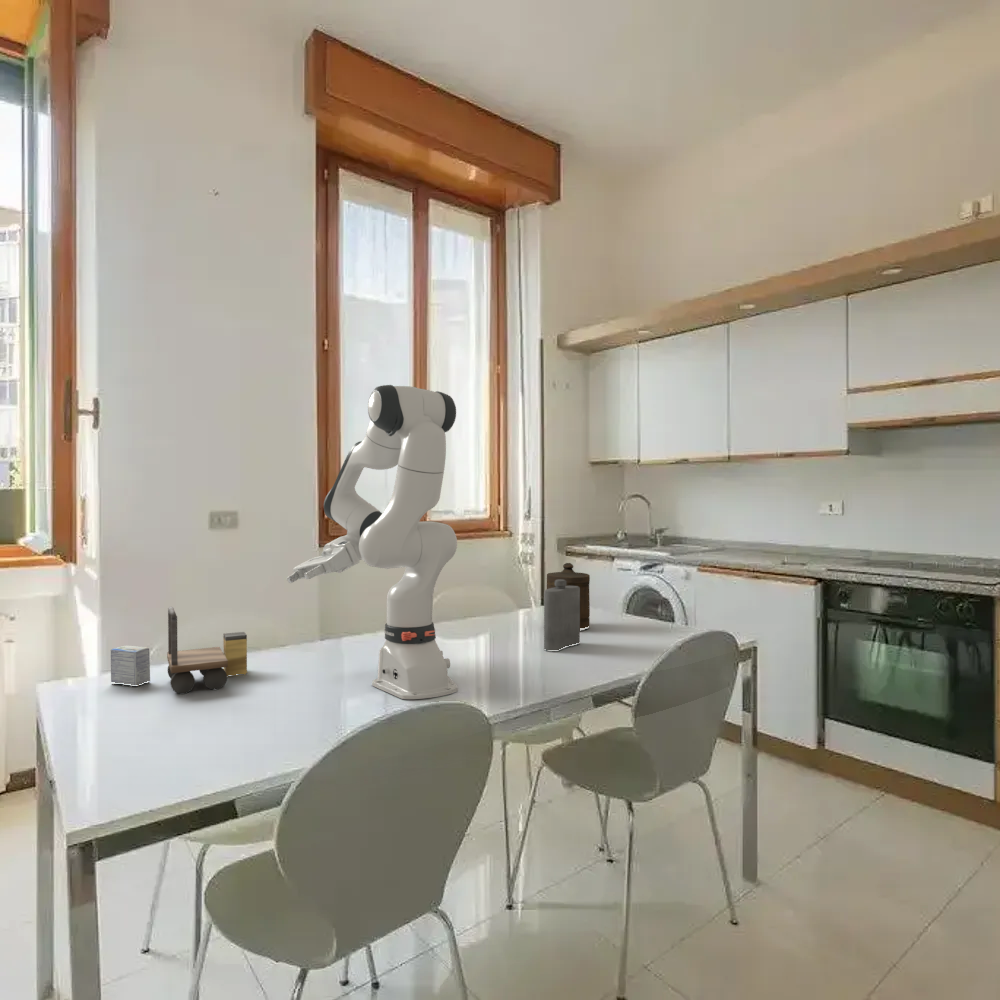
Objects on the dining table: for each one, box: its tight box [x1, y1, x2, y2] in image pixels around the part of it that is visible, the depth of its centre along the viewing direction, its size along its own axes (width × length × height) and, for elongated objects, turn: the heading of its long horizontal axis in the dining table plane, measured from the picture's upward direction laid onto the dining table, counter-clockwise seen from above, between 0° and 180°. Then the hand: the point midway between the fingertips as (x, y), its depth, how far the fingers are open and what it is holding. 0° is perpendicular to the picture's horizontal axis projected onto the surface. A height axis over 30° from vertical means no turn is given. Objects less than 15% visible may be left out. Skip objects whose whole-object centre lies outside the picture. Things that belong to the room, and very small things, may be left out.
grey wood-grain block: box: [110, 645, 151, 685], centre depth 167 cm, size 8×4×9 cm, turn 71°
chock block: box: [222, 631, 248, 677], centre depth 176 cm, size 4×5×10 cm
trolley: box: [166, 606, 228, 694], centre depth 166 cm, size 16×12×18 cm
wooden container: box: [546, 562, 591, 628], centre depth 235 cm, size 15×15×22 cm
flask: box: [543, 579, 581, 650], centre depth 206 cm, size 15×6×20 cm, turn 141°
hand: (297, 578), depth 181 cm, fingers open, 8 cm apart
